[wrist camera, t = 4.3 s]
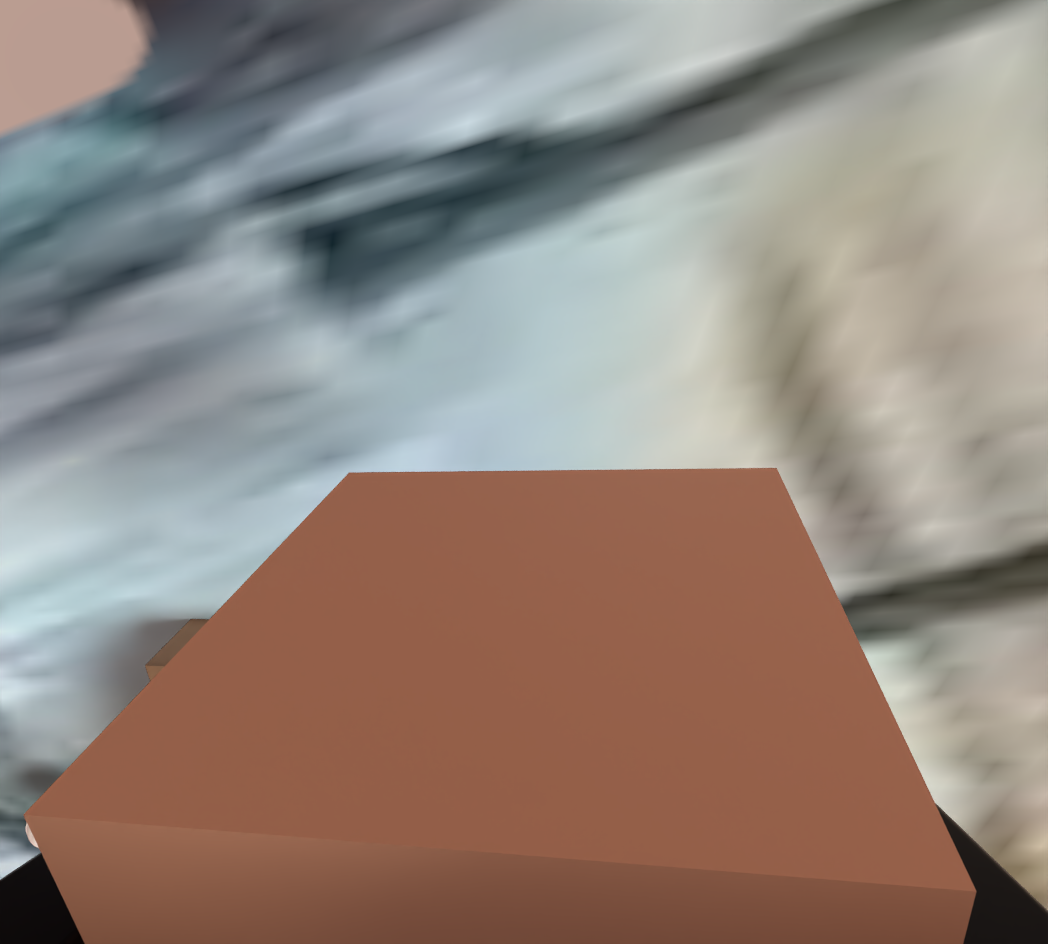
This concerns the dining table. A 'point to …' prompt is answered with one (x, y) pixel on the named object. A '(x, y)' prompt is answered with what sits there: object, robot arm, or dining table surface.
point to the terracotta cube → (515, 736)
